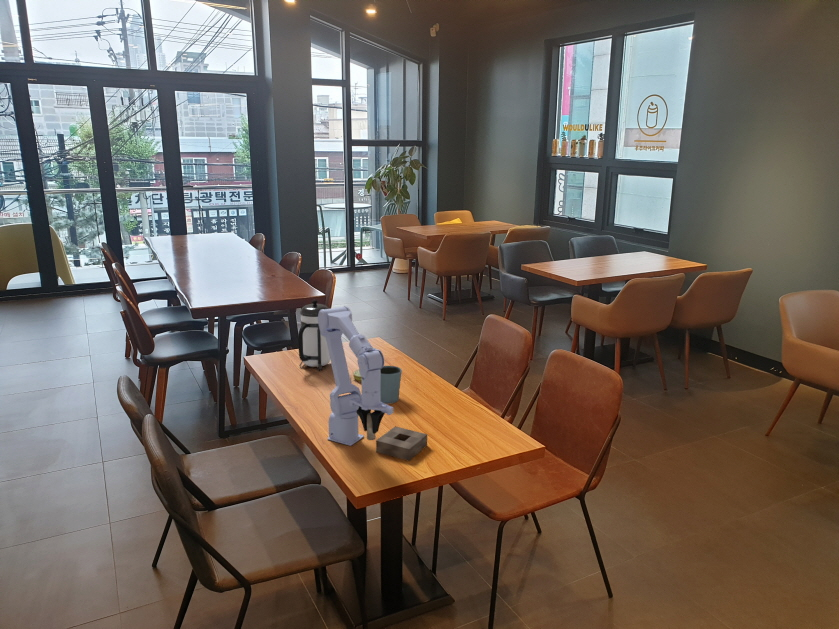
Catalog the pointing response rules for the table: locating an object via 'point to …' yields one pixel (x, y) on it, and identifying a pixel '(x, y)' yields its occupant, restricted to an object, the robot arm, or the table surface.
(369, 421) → the dowel
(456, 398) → the table surface
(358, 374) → the decorated donut
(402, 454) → the square block with hole
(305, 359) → the coffee press
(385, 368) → the teal cup
